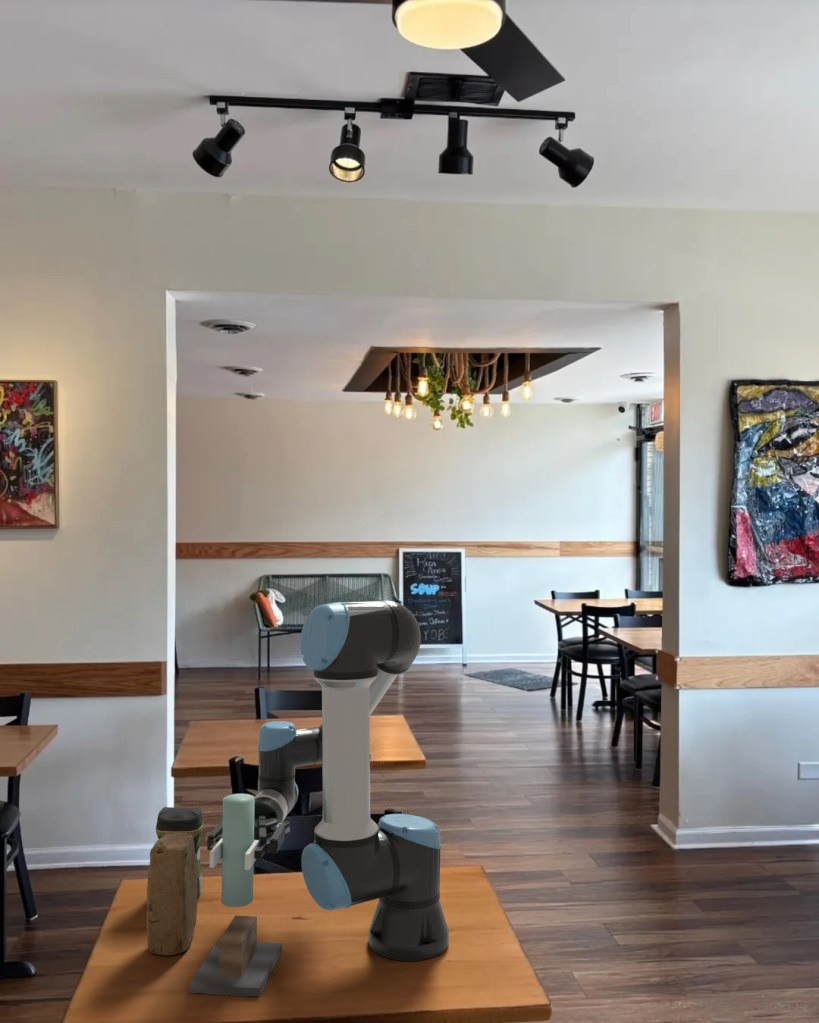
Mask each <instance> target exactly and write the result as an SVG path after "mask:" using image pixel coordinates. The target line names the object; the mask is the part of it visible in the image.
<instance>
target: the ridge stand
mask: <svg viewBox="0 0 819 1023" xmlns="http://www.w3.org/2000/svg"><path fill="white" fill-rule="evenodd" d="M257 920H258V916H254V915H253V916H251V915H250V916H249V915H234V917H233V919H232V920H231V921H230V923H229V924H228V926H227V928H225V930H224V932H223V934H222V935H221V937H220V938H219V939H218V940H217V942H216V943H215V944H214V946H213V948H212V949H211V951H210V952H209V954H207V957H206V958H205V960H204V961H203V963H202V964H201V966H200V967H199V969H198V970H197V971H196V974H195V975H194V977H193V978H192V979H191V981H190V982H189V985H188V986H189V989H188V990H189V991H188V993H189V994H196V993H202V994H201V995H212V994H213V995H214V994H215V995H216V996H229V995H231V996H232V995H233V997H245V996H255V997H254V998H260V997H261V996H262V992H263V991H264V989H265V987H266V985H267V982H268V981H267V980H269V979H268V978H270V977H271V975H272V973H271V972H273V971H272V970H274V969H275V967H276V965H277V962H278V960H279V959H280V956H281V954H282V952H283V943H282V942H267V941H265V942H264V941H258V940H257V936H258V934H257V931H258V929H257V928H258V925H257V923H258V921H257ZM270 974H271V975H270ZM269 976H270V977H269ZM203 993H204V994H203ZM256 996H257V997H256ZM259 996H260V997H259Z"/></svg>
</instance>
